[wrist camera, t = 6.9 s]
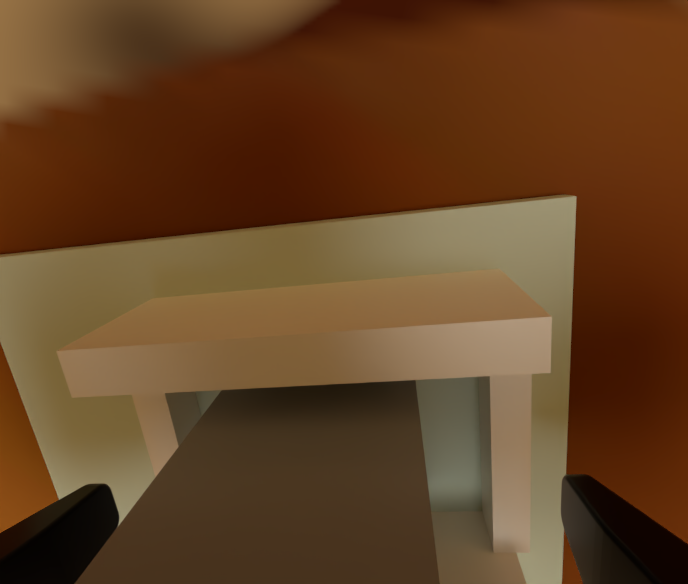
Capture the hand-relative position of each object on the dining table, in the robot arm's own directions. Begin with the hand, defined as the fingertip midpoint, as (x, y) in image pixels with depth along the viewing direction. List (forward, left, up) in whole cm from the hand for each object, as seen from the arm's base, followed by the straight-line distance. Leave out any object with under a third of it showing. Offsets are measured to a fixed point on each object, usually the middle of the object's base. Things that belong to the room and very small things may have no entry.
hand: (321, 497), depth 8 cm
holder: (0, 0, -2) cm, 2 cm away
